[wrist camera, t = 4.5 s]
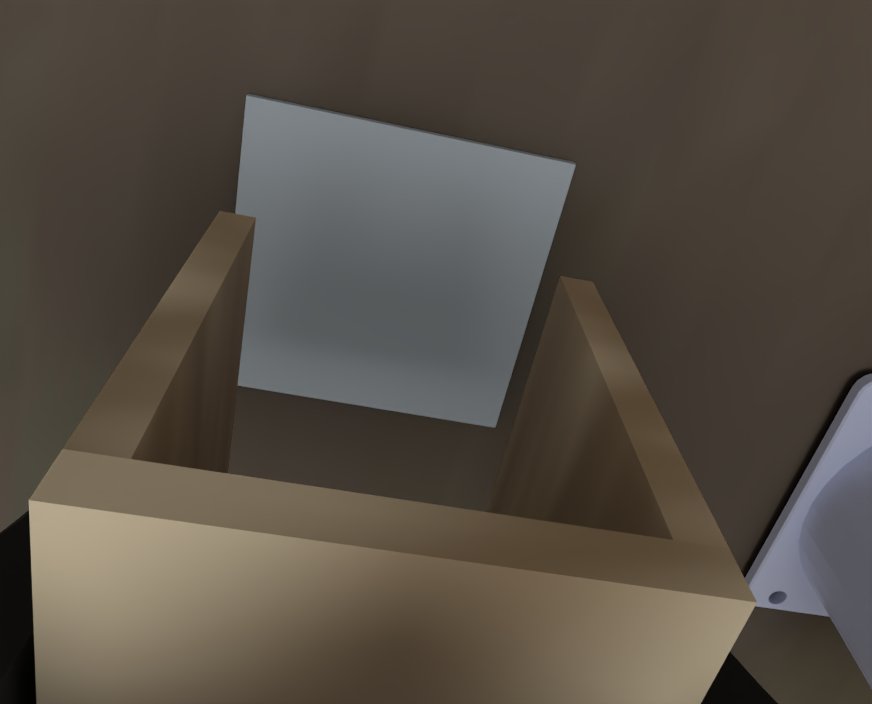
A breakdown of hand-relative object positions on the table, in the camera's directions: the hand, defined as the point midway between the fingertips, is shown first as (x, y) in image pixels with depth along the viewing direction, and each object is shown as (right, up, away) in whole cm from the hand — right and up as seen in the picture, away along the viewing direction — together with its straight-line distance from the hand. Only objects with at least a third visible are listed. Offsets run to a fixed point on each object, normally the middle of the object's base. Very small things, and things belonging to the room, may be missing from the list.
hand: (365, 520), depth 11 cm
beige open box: (0, +1, +2) cm, 2 cm away
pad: (0, +4, +7) cm, 8 cm away
